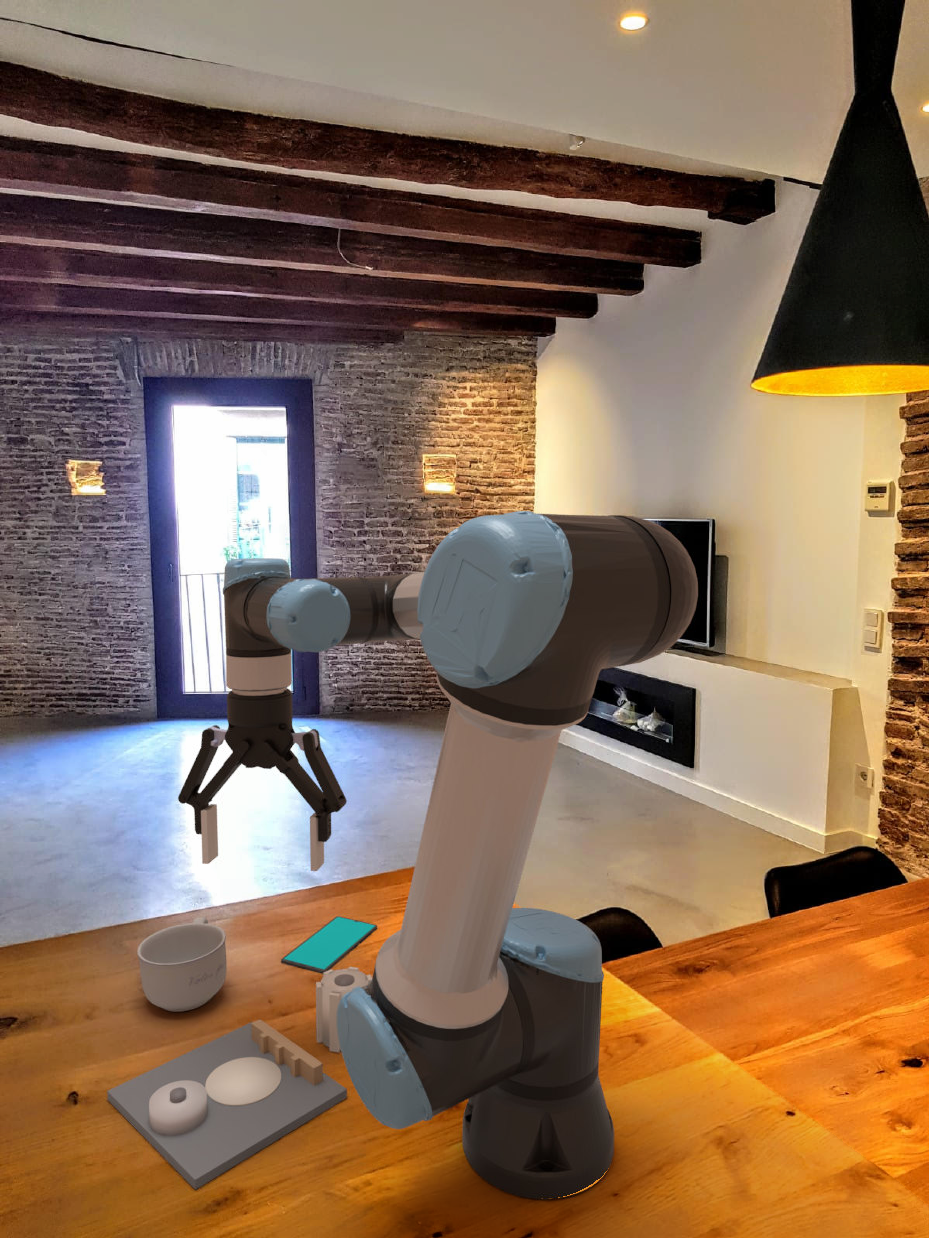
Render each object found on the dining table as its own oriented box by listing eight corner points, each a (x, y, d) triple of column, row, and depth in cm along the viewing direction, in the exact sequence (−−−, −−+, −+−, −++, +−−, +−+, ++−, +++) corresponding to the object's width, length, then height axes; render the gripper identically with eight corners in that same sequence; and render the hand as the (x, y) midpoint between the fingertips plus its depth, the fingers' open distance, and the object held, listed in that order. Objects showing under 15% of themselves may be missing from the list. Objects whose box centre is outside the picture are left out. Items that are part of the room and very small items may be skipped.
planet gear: (382, 1035, 105) (382, 979, 104) (341, 1058, 100) (341, 1000, 100) (347, 1014, 109) (347, 959, 109) (306, 1035, 105) (306, 978, 104)
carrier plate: (346, 1097, 94) (346, 1066, 93) (195, 1189, 81) (194, 1153, 80) (252, 1029, 106) (252, 1001, 106) (107, 1099, 93) (106, 1068, 92)
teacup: (201, 1027, 106) (200, 965, 105) (121, 1016, 108) (119, 955, 107) (251, 970, 120) (250, 914, 119) (179, 961, 122) (178, 906, 121)
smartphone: (279, 959, 122) (337, 915, 136) (279, 965, 122) (337, 920, 136) (324, 971, 119) (378, 925, 133) (324, 977, 119) (378, 930, 133)
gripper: (370, 686, 104) (372, 858, 106) (176, 680, 108) (181, 845, 110) (352, 698, 97) (354, 882, 99) (145, 691, 101) (151, 868, 103)
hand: (263, 863), depth 105 cm, fingers open, 13 cm apart
